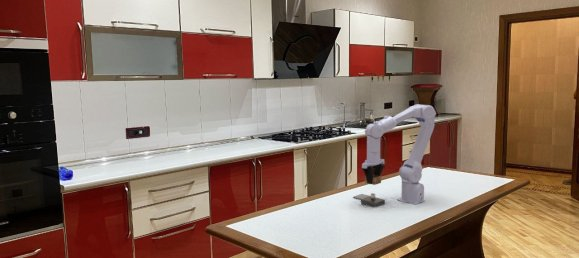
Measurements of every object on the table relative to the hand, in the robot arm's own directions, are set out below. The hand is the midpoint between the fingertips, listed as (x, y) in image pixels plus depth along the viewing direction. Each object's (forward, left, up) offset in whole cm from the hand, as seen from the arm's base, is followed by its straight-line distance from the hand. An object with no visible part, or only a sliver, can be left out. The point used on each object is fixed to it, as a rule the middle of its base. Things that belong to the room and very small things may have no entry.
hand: (373, 182), depth 189 cm
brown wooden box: (0, 0, 0) cm, 0 cm away
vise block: (0, 0, -10) cm, 10 cm away
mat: (+9, -5, -10) cm, 14 cm away
